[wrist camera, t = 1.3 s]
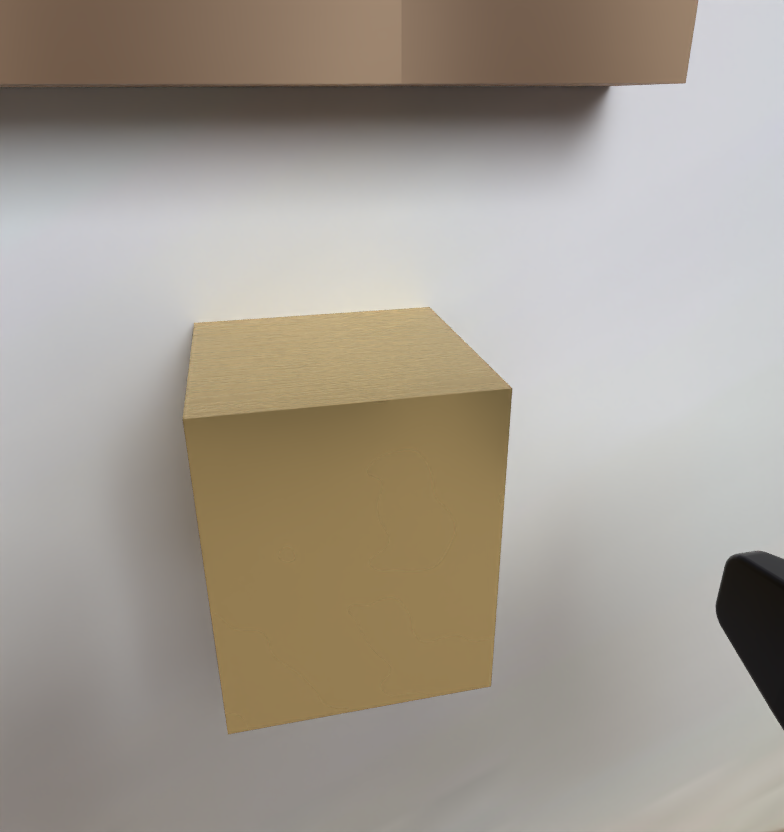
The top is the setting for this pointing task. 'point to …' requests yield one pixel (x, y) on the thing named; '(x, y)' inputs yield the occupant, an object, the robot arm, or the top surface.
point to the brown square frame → (344, 43)
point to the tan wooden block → (346, 509)
